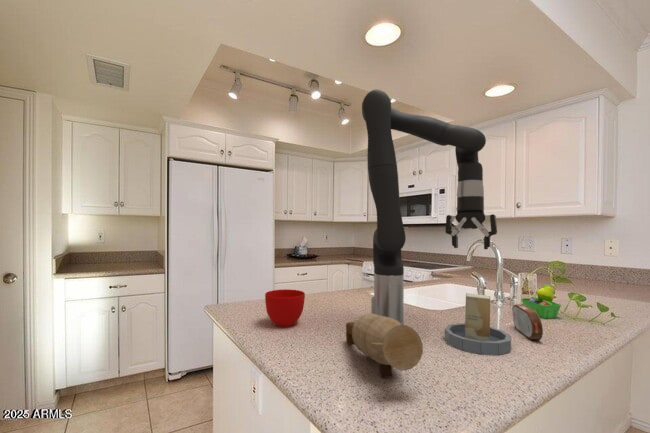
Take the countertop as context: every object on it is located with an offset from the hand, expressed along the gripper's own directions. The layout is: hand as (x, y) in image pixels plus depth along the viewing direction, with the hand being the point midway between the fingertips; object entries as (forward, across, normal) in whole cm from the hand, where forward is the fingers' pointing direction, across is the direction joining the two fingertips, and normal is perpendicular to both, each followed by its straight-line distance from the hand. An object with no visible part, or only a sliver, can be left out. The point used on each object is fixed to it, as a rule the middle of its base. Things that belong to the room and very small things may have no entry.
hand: (470, 248), depth 95 cm
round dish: (+26, -3, +8) cm, 27 cm away
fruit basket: (+26, -17, -40) cm, 50 cm away
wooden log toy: (+26, +13, +37) cm, 47 cm away
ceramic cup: (+26, +52, +27) cm, 65 cm away
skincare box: (+25, -3, +8) cm, 26 cm away
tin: (+26, -14, -10) cm, 31 cm away
